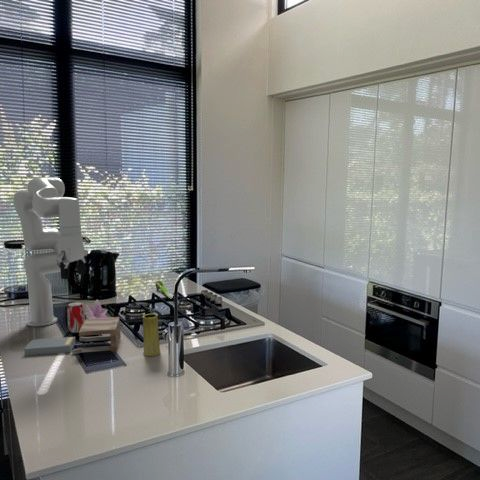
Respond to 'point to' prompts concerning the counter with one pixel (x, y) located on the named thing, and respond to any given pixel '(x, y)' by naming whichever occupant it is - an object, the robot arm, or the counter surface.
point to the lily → (96, 311)
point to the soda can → (75, 316)
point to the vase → (151, 335)
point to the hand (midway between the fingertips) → (73, 276)
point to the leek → (163, 289)
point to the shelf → (100, 327)
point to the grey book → (50, 346)
